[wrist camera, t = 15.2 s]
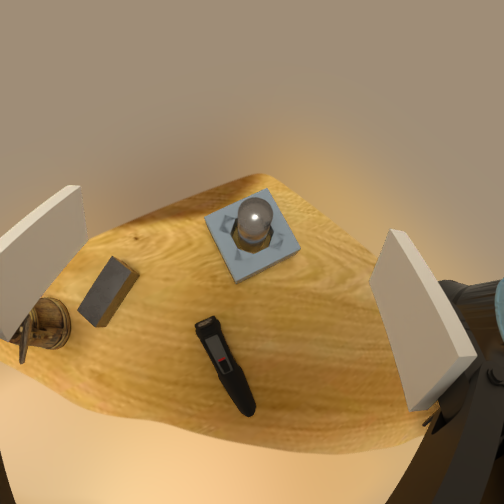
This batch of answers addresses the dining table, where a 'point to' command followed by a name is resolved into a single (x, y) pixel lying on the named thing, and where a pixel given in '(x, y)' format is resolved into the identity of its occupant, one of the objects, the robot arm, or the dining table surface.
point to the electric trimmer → (225, 365)
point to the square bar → (107, 292)
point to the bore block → (245, 262)
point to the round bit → (253, 223)
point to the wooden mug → (43, 327)
